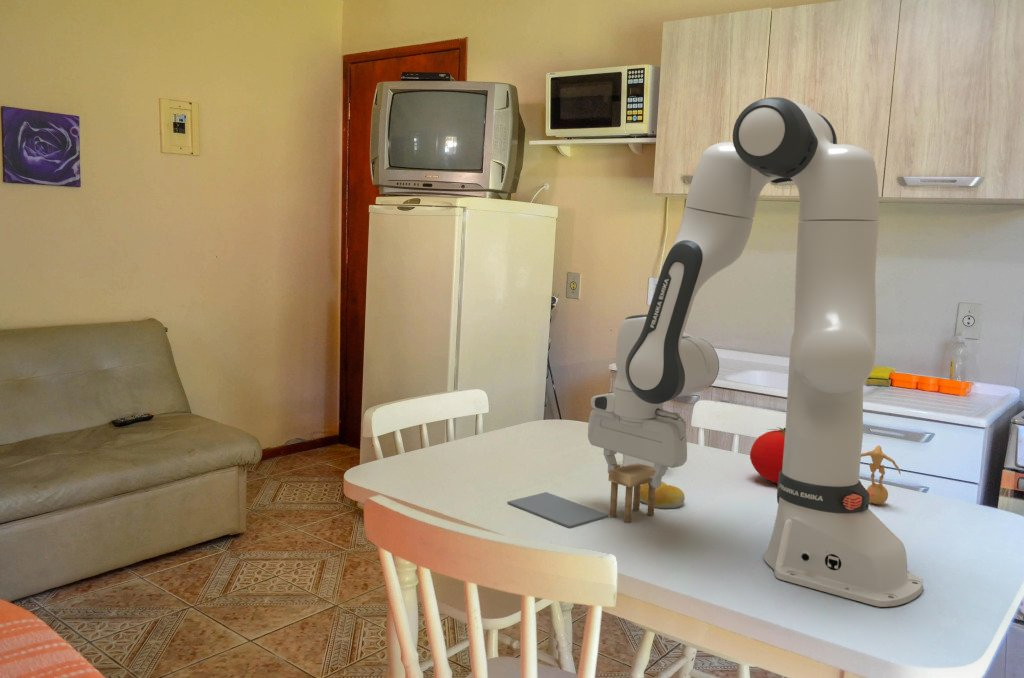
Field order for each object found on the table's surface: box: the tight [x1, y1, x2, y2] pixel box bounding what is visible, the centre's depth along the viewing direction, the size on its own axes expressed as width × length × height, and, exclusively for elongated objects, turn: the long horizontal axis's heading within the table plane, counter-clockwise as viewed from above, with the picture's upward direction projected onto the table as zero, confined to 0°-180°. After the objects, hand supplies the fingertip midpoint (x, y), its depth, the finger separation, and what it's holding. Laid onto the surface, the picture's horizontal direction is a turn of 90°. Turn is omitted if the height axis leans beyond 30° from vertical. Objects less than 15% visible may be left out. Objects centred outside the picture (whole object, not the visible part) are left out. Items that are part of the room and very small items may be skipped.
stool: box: [608, 463, 657, 524], centre depth 147 cm, size 5×8×8 cm, turn 132°
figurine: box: [861, 445, 901, 506], centre depth 158 cm, size 8×6×12 cm
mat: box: [507, 491, 610, 529], centre depth 149 cm, size 16×10×1 cm, turn 42°
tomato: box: [749, 426, 786, 484], centre depth 172 cm, size 12×14×11 cm
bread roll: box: [640, 480, 685, 509], centre depth 156 cm, size 8×9×4 cm
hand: (633, 480), depth 147 cm, fingers open, 8 cm apart
